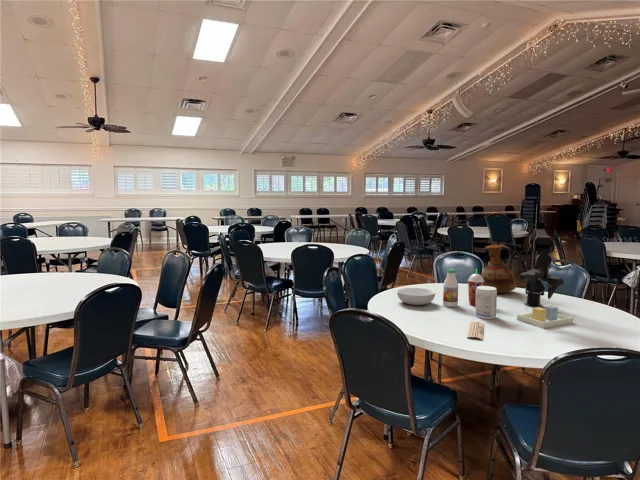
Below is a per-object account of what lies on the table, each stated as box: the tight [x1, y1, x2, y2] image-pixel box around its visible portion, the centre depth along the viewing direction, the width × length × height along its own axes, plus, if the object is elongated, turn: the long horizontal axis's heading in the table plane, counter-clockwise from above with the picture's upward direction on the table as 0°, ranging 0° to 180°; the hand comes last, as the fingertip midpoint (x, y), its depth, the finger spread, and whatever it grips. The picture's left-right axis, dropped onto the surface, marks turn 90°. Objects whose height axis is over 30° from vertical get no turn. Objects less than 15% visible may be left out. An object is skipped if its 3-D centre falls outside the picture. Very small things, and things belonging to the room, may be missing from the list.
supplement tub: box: [474, 286, 498, 320], centre depth 201 cm, size 10×10×15 cm
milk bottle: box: [442, 268, 459, 308], centre depth 222 cm, size 8×8×20 cm
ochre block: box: [531, 306, 546, 322], centre depth 192 cm, size 4×4×6 cm
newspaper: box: [467, 320, 485, 341], centre depth 180 cm, size 24×7×2 cm, turn 157°
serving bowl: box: [396, 287, 436, 306], centre depth 228 cm, size 21×21×7 cm
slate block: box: [543, 305, 559, 321], centre depth 195 cm, size 4×4×6 cm
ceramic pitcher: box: [480, 244, 517, 294], centre depth 254 cm, size 20×20×30 cm
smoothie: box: [467, 268, 484, 307], centre depth 224 cm, size 8×8×20 cm
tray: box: [516, 312, 574, 329], centre depth 194 cm, size 20×14×2 cm
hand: (540, 296), depth 191 cm, fingers open, 9 cm apart
